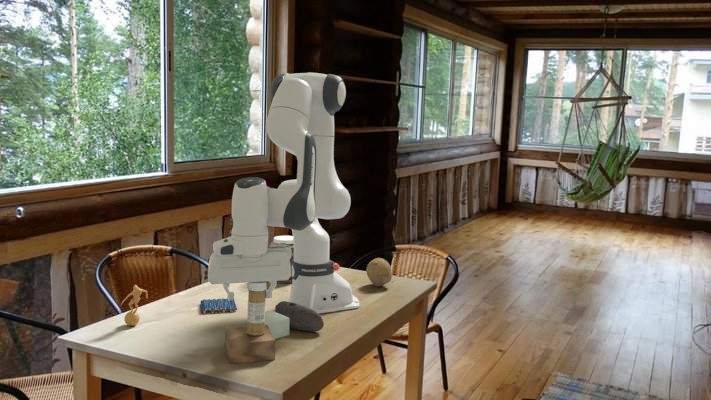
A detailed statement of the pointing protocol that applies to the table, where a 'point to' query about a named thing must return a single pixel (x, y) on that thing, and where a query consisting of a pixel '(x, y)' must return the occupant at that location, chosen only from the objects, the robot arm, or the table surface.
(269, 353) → the walnut block
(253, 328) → the sprinkles bottle
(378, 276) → the natural sponge
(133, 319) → the figurine
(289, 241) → the jar
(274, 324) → the grey-green block
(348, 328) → the table surface
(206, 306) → the woven mat
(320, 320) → the perforated stone tool
